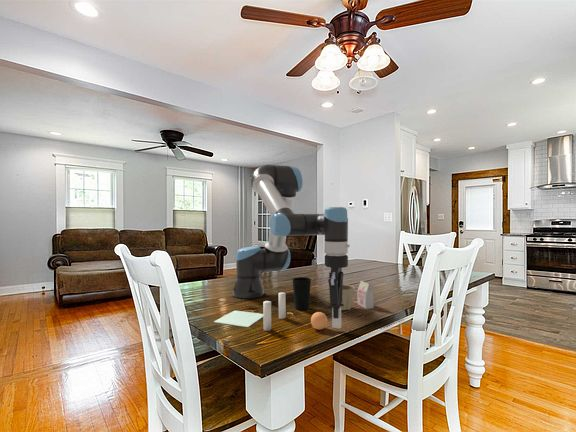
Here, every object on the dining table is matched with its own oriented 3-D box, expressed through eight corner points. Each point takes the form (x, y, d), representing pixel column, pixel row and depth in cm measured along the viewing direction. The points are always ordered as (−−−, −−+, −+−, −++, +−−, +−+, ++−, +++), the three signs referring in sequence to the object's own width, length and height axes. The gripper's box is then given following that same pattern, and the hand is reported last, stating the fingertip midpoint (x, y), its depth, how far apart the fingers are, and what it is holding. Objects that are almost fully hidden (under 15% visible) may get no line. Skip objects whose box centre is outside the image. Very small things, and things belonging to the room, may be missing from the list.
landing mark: (234, 310, 115) (234, 310, 115) (266, 314, 110) (266, 314, 110) (213, 322, 102) (213, 321, 102) (247, 327, 97) (247, 326, 97)
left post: (265, 327, 97) (265, 300, 97) (272, 328, 96) (272, 301, 96) (262, 330, 94) (261, 302, 94) (269, 331, 93) (269, 303, 93)
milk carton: (364, 303, 124) (364, 280, 124) (373, 308, 118) (373, 283, 118) (357, 304, 123) (356, 281, 123) (365, 309, 117) (365, 284, 117)
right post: (280, 316, 108) (280, 292, 109) (286, 316, 107) (286, 292, 108) (277, 318, 106) (277, 293, 106) (284, 319, 105) (283, 294, 105)
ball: (313, 325, 98) (313, 309, 99) (329, 327, 96) (329, 310, 96) (308, 330, 93) (308, 313, 93) (325, 333, 91) (325, 315, 91)
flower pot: (330, 304, 123) (330, 284, 123) (352, 304, 122) (352, 284, 123) (333, 311, 113) (333, 289, 114) (357, 311, 113) (357, 289, 113)
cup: (309, 311, 114) (309, 281, 114) (291, 310, 115) (290, 280, 116) (312, 306, 121) (311, 277, 122) (294, 305, 123) (294, 276, 123)
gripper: (344, 257, 86) (344, 336, 86) (350, 252, 98) (351, 321, 98) (319, 256, 89) (320, 332, 88) (329, 251, 101) (329, 319, 101)
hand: (336, 327), depth 93 cm, fingers closed
